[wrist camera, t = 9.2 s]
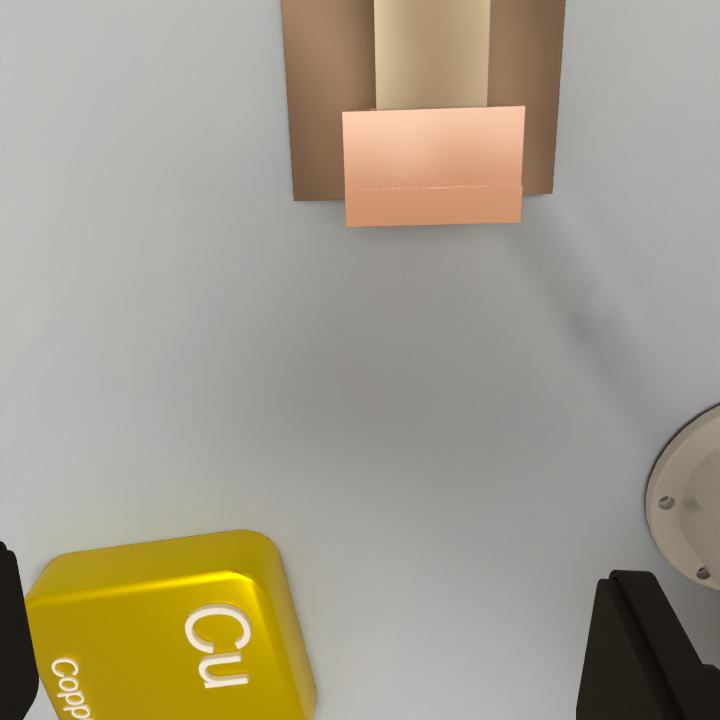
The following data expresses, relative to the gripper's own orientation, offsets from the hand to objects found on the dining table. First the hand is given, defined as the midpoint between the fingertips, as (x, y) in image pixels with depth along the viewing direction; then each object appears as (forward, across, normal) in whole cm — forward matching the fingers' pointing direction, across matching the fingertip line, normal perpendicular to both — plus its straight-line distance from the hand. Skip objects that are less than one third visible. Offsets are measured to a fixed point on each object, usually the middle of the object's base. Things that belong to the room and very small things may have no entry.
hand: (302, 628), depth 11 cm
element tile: (+26, +11, +24) cm, 38 cm away
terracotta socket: (+24, -2, -6) cm, 25 cm away
